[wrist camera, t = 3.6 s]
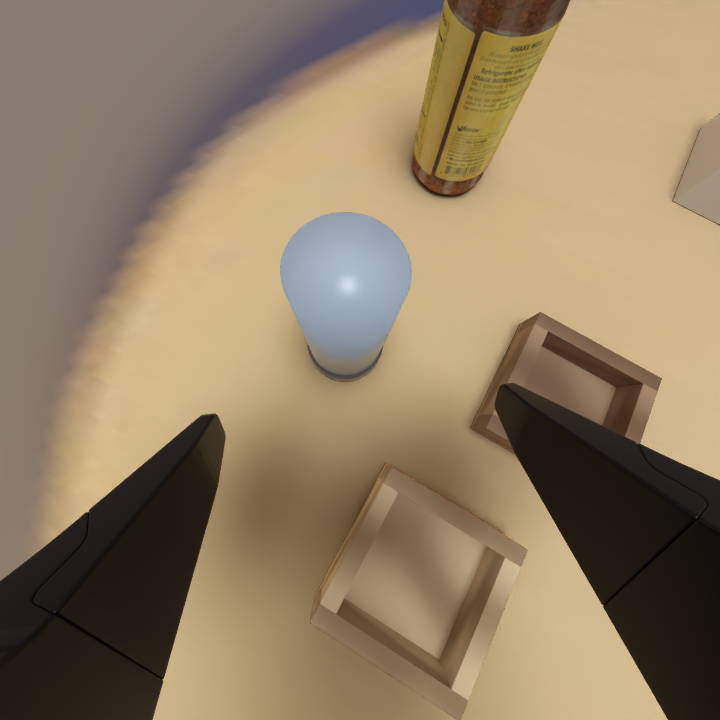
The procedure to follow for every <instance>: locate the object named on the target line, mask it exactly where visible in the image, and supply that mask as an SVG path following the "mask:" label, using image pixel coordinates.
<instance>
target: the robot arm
mask: <svg viewBox="0 0 720 720" xmlns="http://www.w3.org/2000/svg"><path fill="white" fill-rule="evenodd" d="M494 406H495V410H496V412H497V415H498V417H499V419H500V422H501V424H502V426H503V428H504V431H505V433H506V435H507V437H508V440H509V442H510V444H511V446H512V448H513V450H514V452H515V454H516V456H517V458H518V459H519V461H520V463H521V465H522V466H523V468H524V470H525V472H526V473H527V475H528V477H529V479H530V480H531V482H532V484H533V485H534V487H535V489H536V491H537V492H538V494H539V496H540V498H541V499H542V501H543V503H544V505H545V506H546V508H547V510H548V512H549V513H550V515H551V517H552V519H553V520H554V522H555V524H556V525H557V527H558V529H559V531H560V532H561V534H562V536H563V538H564V539H565V541H566V543H567V545H568V546H569V548H570V550H571V552H572V553H573V555H574V557H575V559H576V560H577V562H578V564H579V565H580V567H581V569H582V571H583V572H584V574H585V576H586V578H587V579H588V581H589V583H590V585H591V586H592V588H593V590H594V592H595V593H596V595H597V597H598V599H599V600H600V602H601V604H602V605H604V606H603V608H604V609H605V611H606V613H607V615H608V616H609V618H610V620H611V622H612V623H613V625H614V627H615V628H616V630H617V632H618V634H619V635H620V637H621V639H622V641H623V642H624V644H625V646H626V648H627V649H628V651H629V653H630V655H631V656H632V658H633V660H634V661H635V663H636V665H637V667H638V668H639V670H640V672H641V674H642V675H643V677H644V679H645V681H646V682H647V684H648V686H649V688H650V689H651V691H652V693H653V694H654V696H655V698H656V700H657V701H658V703H659V705H660V707H661V708H662V710H663V712H664V714H665V715H666V717H667V719H668V720H720V480H718V479H715V478H713V477H711V476H708V475H706V474H704V473H702V472H699V471H697V470H695V469H693V468H690V467H688V466H686V465H684V464H681V463H679V462H677V461H675V460H673V459H671V458H668V457H666V456H664V455H662V454H660V453H658V452H656V451H654V450H652V449H650V448H648V447H645V446H643V445H641V444H639V443H638V444H637V443H636V442H635V441H633V440H631V439H629V438H627V437H625V436H623V435H621V434H619V433H617V432H615V431H612V430H610V429H608V428H606V427H604V426H602V425H600V424H598V423H596V422H594V421H592V420H590V419H588V418H586V417H584V416H582V415H580V414H578V413H575V412H573V411H571V410H569V409H567V408H565V407H563V406H561V405H559V404H557V403H555V402H553V401H551V400H549V399H547V398H545V397H543V396H540V395H538V394H536V393H534V392H532V391H530V390H528V389H526V388H524V387H522V386H520V385H518V384H516V383H503V384H501V385H500V386H499V388H498V392H497V395H496V399H495V404H494ZM224 445H225V432H224V429H223V427H222V424H221V422H220V419H219V417H218V415H217V414H205V415H201V416H200V417H199V418H197V419H196V420H195V421H194V422H193V423H191V424H190V425H189V426H188V427H187V428H186V429H184V430H183V431H182V432H181V433H180V434H178V435H177V436H176V437H175V438H174V439H173V440H171V441H170V442H169V443H168V444H167V445H165V446H164V447H163V448H162V449H161V450H160V451H158V452H157V453H156V454H155V455H154V456H152V457H151V458H150V459H149V460H148V461H146V462H145V463H144V464H143V465H142V466H141V467H139V468H138V469H137V470H136V471H135V472H133V473H132V474H131V475H130V476H129V477H128V478H126V479H125V480H124V481H123V482H122V483H120V484H119V485H118V486H117V487H116V488H115V489H113V490H112V491H111V492H110V493H109V494H107V495H106V496H105V497H104V498H103V499H101V500H100V501H99V502H98V503H97V504H96V505H94V506H93V507H92V508H91V509H90V510H89V512H86V513H85V514H84V515H82V516H81V517H80V518H79V519H78V520H76V521H75V522H74V523H73V524H72V525H71V526H69V527H68V528H67V529H66V530H64V531H63V532H62V533H61V534H60V535H58V536H57V537H56V538H55V539H53V540H52V541H51V542H50V543H49V544H47V545H46V546H45V547H44V548H42V549H41V550H40V551H39V552H37V553H36V554H35V555H33V556H32V557H31V558H30V559H28V560H27V561H26V562H24V563H23V564H22V565H21V566H20V567H18V568H17V569H15V570H14V571H13V572H11V573H10V574H9V575H8V576H6V577H5V578H4V579H2V580H1V581H0V720H153V716H154V713H155V709H156V706H157V702H158V698H159V695H160V691H161V688H162V684H163V680H162V679H163V678H164V676H165V673H166V669H167V666H168V662H169V658H170V655H171V651H172V648H173V644H174V641H175V637H176V634H177V630H178V626H179V623H180V619H181V616H182V612H183V609H184V605H185V602H186V598H187V594H188V591H189V587H190V584H191V580H192V577H193V573H194V570H195V566H196V562H197V559H198V555H199V552H200V548H201V545H202V541H203V538H204V534H205V530H206V527H207V523H208V520H209V516H210V513H211V509H212V506H213V502H214V498H215V495H216V491H217V487H218V482H219V476H220V470H221V464H222V458H223V451H224Z"/></svg>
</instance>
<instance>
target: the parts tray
mask: <svg viewBox="0 0 720 720" xmlns="http://www.w3.org/2000/svg"><path fill="white" fill-rule="evenodd" d="M673 201H674V202H676V203H678V204H680V205H681V206H683V207H685V208H687V209H689V210H691V211H693V212H695V213H697V214H699V215H701V216H703V217H705V218H707V219H709V220H711V221H713V222H715V223H717V224H719V225H720V113H719V114H718V115H717V116H715V117H714V118H713V119H712V120H711V121H709V122H708V123H707V124H706V125H705V126H703V127H702V128H701V129H700V132H699V134H698V137H697V139H696V142H695V145H694V147H693V150H692V152H691V155H690V158H689V160H688V163H687V165H686V168H685V171H684V173H683V176H682V178H681V181H680V183H679V186H678V189H677V191H676V194H675V196H674V199H673Z"/></svg>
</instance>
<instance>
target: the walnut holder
mask: <svg viewBox="0 0 720 720" xmlns="http://www.w3.org/2000/svg"><path fill="white" fill-rule="evenodd" d="M661 380H662V378H660V377H658V376H656V375H654V374H653V373H651V372H649V371H647V370H645V369H644V368H642V367H640V366H638V365H636V364H634V363H633V362H631V361H629V360H627V359H625V358H623V357H622V356H620V355H618V354H616V353H614V352H612V351H611V350H609V349H607V348H605V347H603V346H602V345H600V344H598V343H596V342H594V341H592V340H591V339H589V338H587V337H585V336H583V335H581V334H580V333H578V332H576V331H574V330H572V329H570V328H569V327H567V326H565V325H563V324H561V323H559V322H558V321H556V320H554V319H552V318H550V317H549V316H547V315H545V314H543V313H541V312H540V313H538V314H536V315H535V316H533V317H531V318H529V319H528V320H526V321H524V322H522V323H521V324H520V325H519V327H518V329H517V331H516V333H515V336H514V338H513V340H512V342H511V344H510V346H509V348H508V350H507V352H506V354H505V356H504V358H503V361H502V363H501V365H500V367H499V369H498V371H497V373H496V375H495V377H494V379H493V381H492V383H491V386H490V388H489V390H488V392H487V394H486V396H485V398H484V400H483V402H482V404H481V406H480V408H479V411H478V413H477V415H476V417H475V419H474V421H473V423H472V425H471V427H470V428H472V429H473V430H475V431H477V432H478V433H480V434H482V435H483V436H485V437H487V438H489V439H490V440H492V441H494V442H495V443H497V444H499V445H501V446H502V447H504V448H506V449H507V450H509V451H511V452H513V453H514V454H515V452H514V450H513V448H512V446H511V444H510V442H509V440H508V437H507V435H506V433H505V431H504V428H503V426H502V424H501V422H500V419H499V417H498V415H497V412H496V410H495V406H494V404H495V399H496V395H497V392H498V388H499V386H500V385H501V384H503V383H516V384H518V385H520V386H522V387H524V388H526V389H528V390H530V391H532V392H534V393H536V394H538V395H540V396H543V397H545V398H547V399H549V400H551V401H553V402H555V403H557V404H559V405H561V406H563V407H565V408H567V409H569V410H571V411H573V412H575V413H578V414H580V415H582V416H584V417H586V418H588V419H590V420H592V421H594V422H596V423H598V424H600V425H602V426H604V427H606V428H608V429H610V430H612V431H615V432H617V433H619V434H621V435H623V436H625V437H627V438H629V439H631V440H633V441H635V442H636V443H637V444H638V443H639V444H640V442H641V439H642V436H643V433H644V430H645V427H646V424H647V421H648V418H649V415H650V412H651V409H652V406H653V403H654V400H655V397H656V394H657V391H658V388H659V385H660V383H661Z"/></svg>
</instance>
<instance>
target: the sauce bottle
mask: <svg viewBox="0 0 720 720" xmlns="http://www.w3.org/2000/svg"><path fill="white" fill-rule="evenodd" d="M569 2H570V0H444V5H443V10H442V15H441V20H440V25H439V29H438V34H437V39H436V44H435V48H434V53H433V58H432V63H431V67H430V72H429V77H428V82H427V87H426V91H425V96H424V100H423V105H422V109H421V114H420V119H419V123H418V128H417V133H416V137H415V141H414V161H413V169H414V173H415V174H416V176H417V177H418V179H419V180H420V181H421V182H422V183H423V184H424V185H425V186H426V187H427V188H428V189H430V190H431V191H434V192H436V193H439V194H448V195H456V194H461V193H463V192H467V191H468V190H469V189H471V188H472V187H473V186H474V185H475V184H476V183H477V182H478V181H479V180H480V178H481V177H482V175H483V172H484V171H485V169H486V168H487V167H488V165H489V163H490V161H491V159H492V157H493V155H494V153H495V151H496V150H497V148H498V146H499V144H500V142H501V140H502V138H503V136H504V134H505V132H506V130H507V128H508V126H509V124H510V122H511V120H512V117H513V115H514V113H515V111H516V109H517V107H518V105H519V104H520V102H521V100H522V98H523V96H524V94H525V92H526V90H527V88H528V86H529V84H530V82H531V80H532V78H533V76H534V74H535V72H536V70H537V68H538V66H539V64H540V62H541V60H542V58H543V56H544V54H545V52H546V50H547V48H548V46H549V44H550V42H551V40H552V38H553V36H554V34H555V32H556V30H557V28H558V26H559V24H560V22H561V20H562V18H563V16H564V14H565V12H566V10H567V7H568V5H569Z"/></svg>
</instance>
